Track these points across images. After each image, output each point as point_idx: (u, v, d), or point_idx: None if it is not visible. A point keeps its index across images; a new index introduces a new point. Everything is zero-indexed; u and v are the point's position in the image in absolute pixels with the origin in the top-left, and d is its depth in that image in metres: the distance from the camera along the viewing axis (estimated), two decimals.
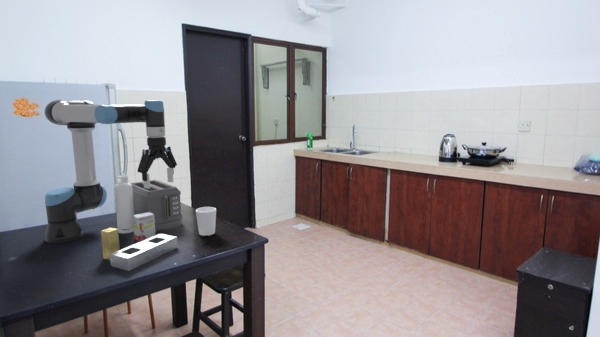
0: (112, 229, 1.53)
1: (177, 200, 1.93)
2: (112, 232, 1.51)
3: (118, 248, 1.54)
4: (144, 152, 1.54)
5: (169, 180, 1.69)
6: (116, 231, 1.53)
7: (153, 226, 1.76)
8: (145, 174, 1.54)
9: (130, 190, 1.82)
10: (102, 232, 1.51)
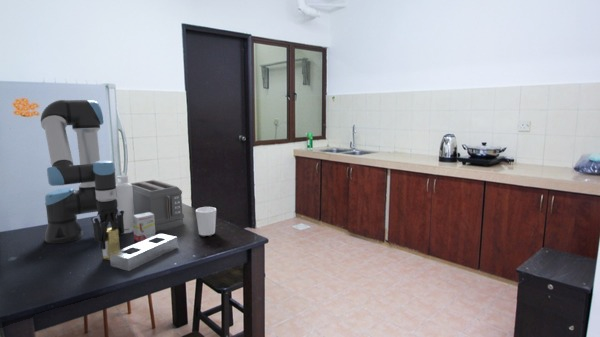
0: (112, 229, 1.53)
1: (179, 199, 1.94)
2: (112, 232, 1.51)
3: (118, 248, 1.54)
4: (94, 221, 1.46)
5: None
6: (116, 231, 1.53)
7: (153, 226, 1.76)
8: (103, 242, 1.49)
9: (130, 190, 1.82)
10: None
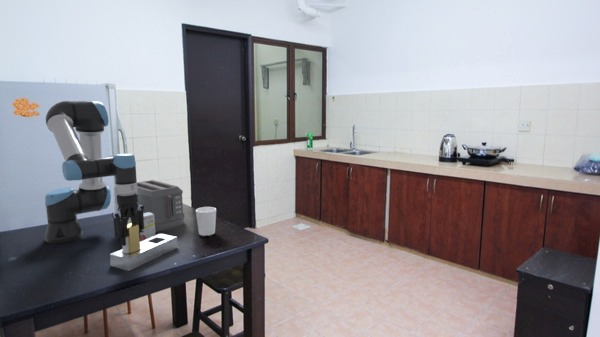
0: (132, 225, 1.47)
1: (179, 199, 1.94)
2: (133, 228, 1.45)
3: (138, 244, 1.49)
4: (114, 217, 1.40)
5: None
6: (136, 227, 1.47)
7: (153, 226, 1.76)
8: (124, 239, 1.44)
9: None
10: None
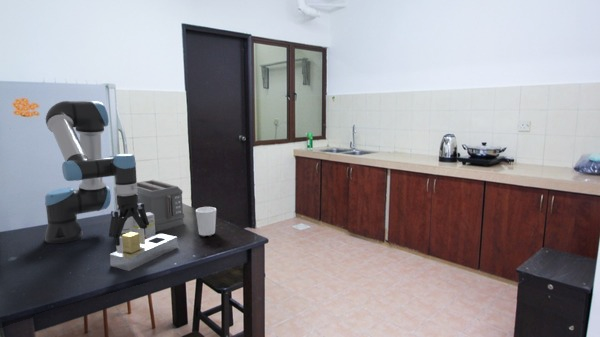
0: (133, 233, 1.48)
1: (179, 199, 1.94)
2: (133, 237, 1.46)
3: None
4: (113, 215, 1.39)
5: (140, 242, 1.53)
6: (137, 235, 1.48)
7: (153, 226, 1.76)
8: (117, 238, 1.41)
9: None
10: (123, 236, 1.46)
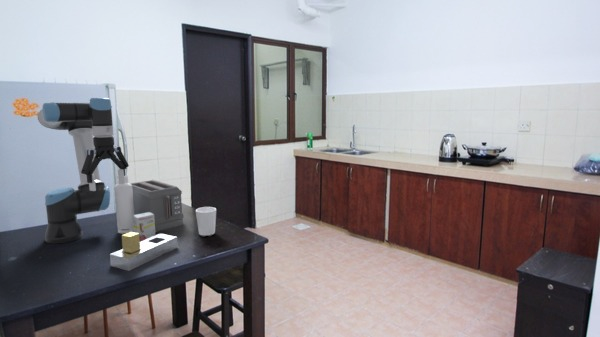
0: (133, 233, 1.48)
1: (178, 200, 1.93)
2: (133, 237, 1.46)
3: None
4: (89, 153, 1.46)
5: (120, 182, 1.60)
6: (137, 235, 1.48)
7: (153, 226, 1.76)
8: (90, 176, 1.46)
9: (130, 190, 1.82)
10: (123, 237, 1.46)
